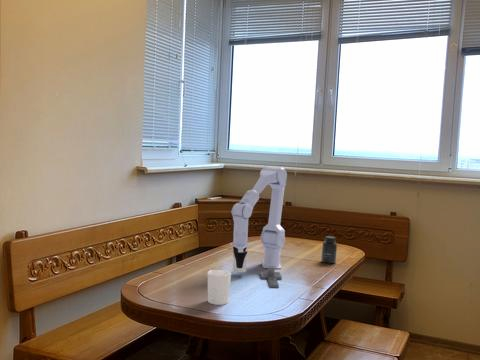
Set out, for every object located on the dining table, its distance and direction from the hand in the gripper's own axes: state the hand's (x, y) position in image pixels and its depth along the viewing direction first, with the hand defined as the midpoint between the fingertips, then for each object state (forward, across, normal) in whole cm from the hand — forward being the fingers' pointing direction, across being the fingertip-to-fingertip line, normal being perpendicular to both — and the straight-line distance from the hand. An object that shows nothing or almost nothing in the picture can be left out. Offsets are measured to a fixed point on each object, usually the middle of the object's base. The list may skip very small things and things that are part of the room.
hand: (239, 266), depth 200 cm
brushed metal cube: (+2, 0, 0) cm, 2 cm away
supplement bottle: (+4, -29, +43) cm, 52 cm away
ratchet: (+4, +6, +13) cm, 15 cm away
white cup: (+4, +34, -8) cm, 35 cm away
